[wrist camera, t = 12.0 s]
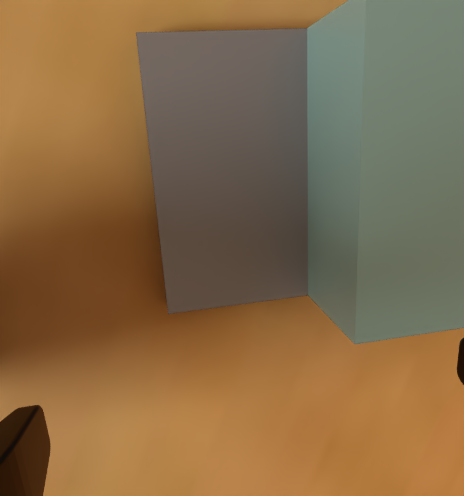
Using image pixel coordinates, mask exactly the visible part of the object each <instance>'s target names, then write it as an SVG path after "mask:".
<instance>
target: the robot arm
mask: <svg viewBox="0 0 464 496" xmlns="http://www.w3.org/2000/svg"><path fill="white" fill-rule="evenodd" d="M457 374H458V377H459V379H460V381H461V382H462V383H463V385H464V338H463V339H462V340H461V341H460V344H459V353H458V363H457ZM49 456H50V439H49V434H48V430H47V425H46V421H45V416H44V412H43V409H42V408H41V406H39V405H34V406H28V407H21V408H18V409H16V410H14V411H13V412H12V413H11V414H9V415H8V416H7V417H6V418H4V419H3V420H2V421H1V422H0V496H43V492H44V486H45V480H46V474H47V468H48V462H49Z"/></svg>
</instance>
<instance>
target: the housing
mask: <svg viewBox="0 0 464 496" xmlns="http://www.w3.org/2000/svg"><path fill="white" fill-rule="evenodd" d="M307 124H308V296H309V297H310V298H311V299H312V300H313V301H314V302H315V303H316V304H317V305H318V306H319V307H320V308H321V309H322V310H323V312H324V313H325V314H326V315H327V316H328V317H329V318H330V319H331V320H332V321H333V322H334V323H335V324H336V325H337V326H338V327H339V328H340V329H341V330H342V332H343V333H344V334H345V335H346V336H347V337H348V338H349V339H350V340H351V341H352V342H353V343H354V344H360V343H367V342H374V341H380V340H387V339H393V338H400V337H407V336H413V335H420V334H427V333H433V332H440V331H446V330H453V329H460V328H464V0H348V1H347V2H345V3H344V4H342V5H341V6H339V7H338V8H336V9H335V10H333V11H332V12H330V13H329V14H327V15H326V16H324V17H323V18H321V19H320V20H318V21H317V22H316V23H314V24H313V25H311V26H310V27H308V28H307Z"/></svg>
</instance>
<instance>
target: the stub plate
mask: <svg viewBox="0 0 464 496" xmlns="http://www.w3.org/2000/svg"><path fill="white" fill-rule="evenodd" d="M136 36H137V45H138V54H139V62H140V71H141V80H142V89H143V97H144V106H145V115H146V124H147V133H148V141H149V150H150V159H151V168H152V176H153V185H154V194H155V203H156V211H157V220H158V229H159V238H160V246H161V255H162V264H163V273H164V281H165V290H166V299H167V308H168V314H172V313H179V312H187V311H194V310H202V309H209V308H217V307H224V306H232V305H239V304H247V303H254V302H262V301H269V300H277V299H284V298H292V297H299V296H307V295H308V124H307V28H301V29H261V30H220V31H180V32H139V33H136Z"/></svg>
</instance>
